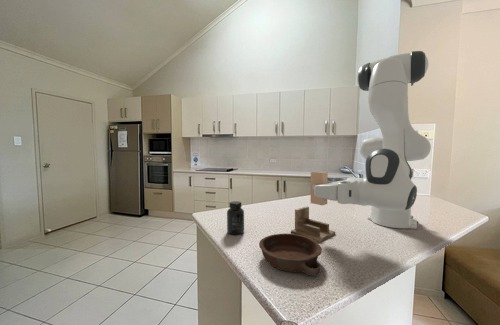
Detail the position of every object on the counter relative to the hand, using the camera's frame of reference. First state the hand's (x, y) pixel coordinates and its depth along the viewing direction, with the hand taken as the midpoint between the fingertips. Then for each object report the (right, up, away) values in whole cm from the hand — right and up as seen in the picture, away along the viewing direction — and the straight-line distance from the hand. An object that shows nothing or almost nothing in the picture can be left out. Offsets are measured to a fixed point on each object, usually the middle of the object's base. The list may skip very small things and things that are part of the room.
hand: (316, 186), depth 80 cm
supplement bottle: (-31, -19, +3) cm, 37 cm away
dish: (-14, -20, -19) cm, 31 cm away
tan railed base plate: (-1, -19, +2) cm, 19 cm away
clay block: (+1, -7, 0) cm, 7 cm away
